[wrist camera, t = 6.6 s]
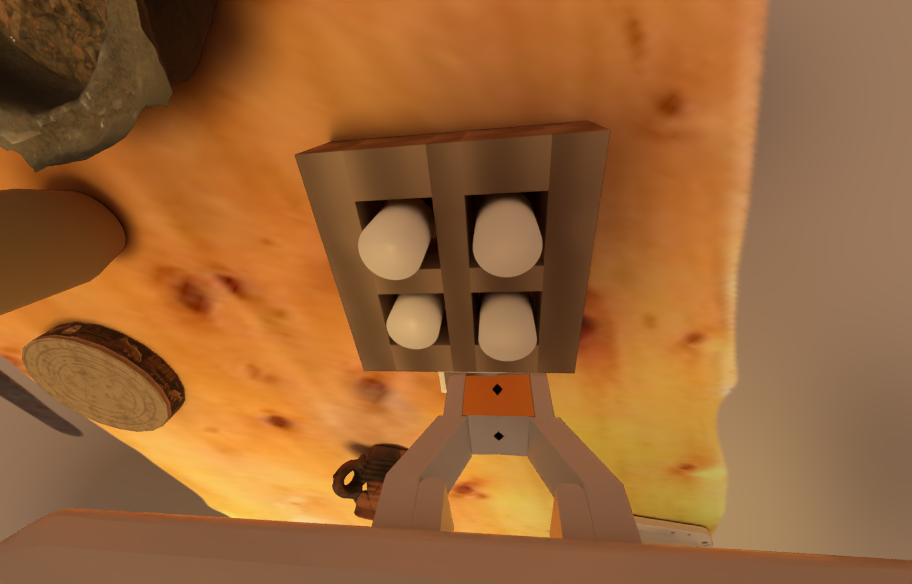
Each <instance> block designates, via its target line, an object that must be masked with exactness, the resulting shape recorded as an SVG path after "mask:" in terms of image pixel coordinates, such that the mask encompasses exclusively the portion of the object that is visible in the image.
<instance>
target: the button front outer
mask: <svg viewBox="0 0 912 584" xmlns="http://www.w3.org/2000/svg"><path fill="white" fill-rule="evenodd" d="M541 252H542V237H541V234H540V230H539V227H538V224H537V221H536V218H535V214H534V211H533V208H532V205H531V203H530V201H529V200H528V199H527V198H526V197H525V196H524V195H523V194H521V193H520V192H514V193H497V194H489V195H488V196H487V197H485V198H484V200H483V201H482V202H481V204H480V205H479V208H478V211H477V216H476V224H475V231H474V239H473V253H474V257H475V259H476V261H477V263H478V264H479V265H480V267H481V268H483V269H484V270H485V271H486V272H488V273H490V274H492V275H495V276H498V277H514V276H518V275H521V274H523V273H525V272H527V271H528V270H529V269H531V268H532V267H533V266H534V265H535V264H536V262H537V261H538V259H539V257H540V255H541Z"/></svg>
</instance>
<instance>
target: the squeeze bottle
mask: <svg viewBox="0 0 912 584" xmlns="http://www.w3.org/2000/svg"><path fill="white" fill-rule="evenodd" d="M125 242H126V237H125V234H124V230H123V227H122V226H121V224H120V223H119V222H118V220H117V219H116V217H115V216H114V215H113V214H112V213H111V212H110V211H109V210H108V209H107V208H106V207H105V206H104V205H103V204H101V203H100V202H98V201H96V200H95V199H93V198H91V197H90V196H88V195H85V194H82V193H79V192H75V191H61V190H34V189H9V190H0V315H2V314H5V313H7V312H10V311H13V310H15V309H18V308H21V307H23V306H26V305H28V304H31V303H34V302H36V301H39V300H42V299H44V298H47V297H50V296H52V295H55V294H57V293H60V292H63V291H65V290H68V289H71V288H73V287H76V286H79V285H81V284H84V283H86V282H89V281H91V280H92V279H94V278H95V277H96V276H98V275H99V274H100V273H101V272H102V271H103V270H104V269H105V268H106V267H107V266H108V265H109V263H110V262H111V261H112V260H113V259H114V258H115V257H116V256H117V255H118V254H119V253H120V252H121V251H122V250H123V249H124V247H125Z"/></svg>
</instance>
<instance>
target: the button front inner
mask: <svg viewBox="0 0 912 584" xmlns="http://www.w3.org/2000/svg"><path fill="white" fill-rule="evenodd" d="M478 340H479V345H480V347H481V349H482V350H483V352H484V353H485V354H487V355H488V356H490V357H491V358H493V359H496V360H500V361H515V360H519V359H522V358H524V357H526V356H527V355H529V354H530V353H531V352H532V351H533V349H534V348H535V346H536V343H537V335H536V329H535V324H534V318H533V312H532V306H531V300H530V295H529V292H528V291H524V292H482V295H481V304H480V321H479V338H478Z"/></svg>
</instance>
